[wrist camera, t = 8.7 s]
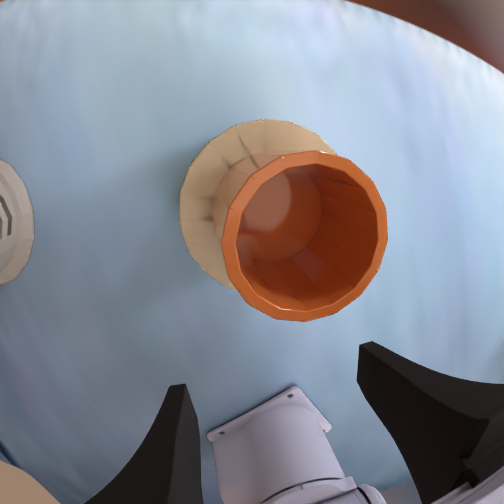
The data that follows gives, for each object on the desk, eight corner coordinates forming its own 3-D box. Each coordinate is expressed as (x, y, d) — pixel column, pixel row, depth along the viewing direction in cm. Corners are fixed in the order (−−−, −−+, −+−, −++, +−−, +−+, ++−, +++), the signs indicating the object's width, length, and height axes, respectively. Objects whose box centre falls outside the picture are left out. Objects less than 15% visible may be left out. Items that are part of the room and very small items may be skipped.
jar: (231, 280, 22) (244, 324, 16) (157, 178, 19) (142, 187, 13) (331, 212, 21) (377, 233, 16) (269, 106, 19) (299, 88, 13)
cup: (252, 285, 15) (282, 349, 10) (188, 194, 14) (185, 219, 8) (341, 225, 15) (407, 260, 10) (288, 130, 14) (342, 119, 8)
